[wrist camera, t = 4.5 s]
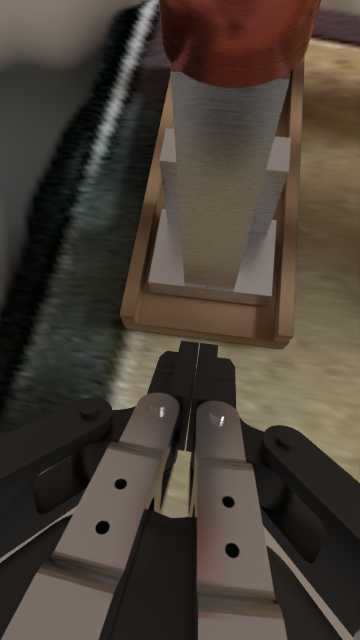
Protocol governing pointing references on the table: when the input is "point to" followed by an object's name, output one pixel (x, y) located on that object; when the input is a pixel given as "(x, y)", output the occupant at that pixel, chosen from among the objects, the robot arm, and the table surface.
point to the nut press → (215, 315)
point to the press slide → (225, 144)
